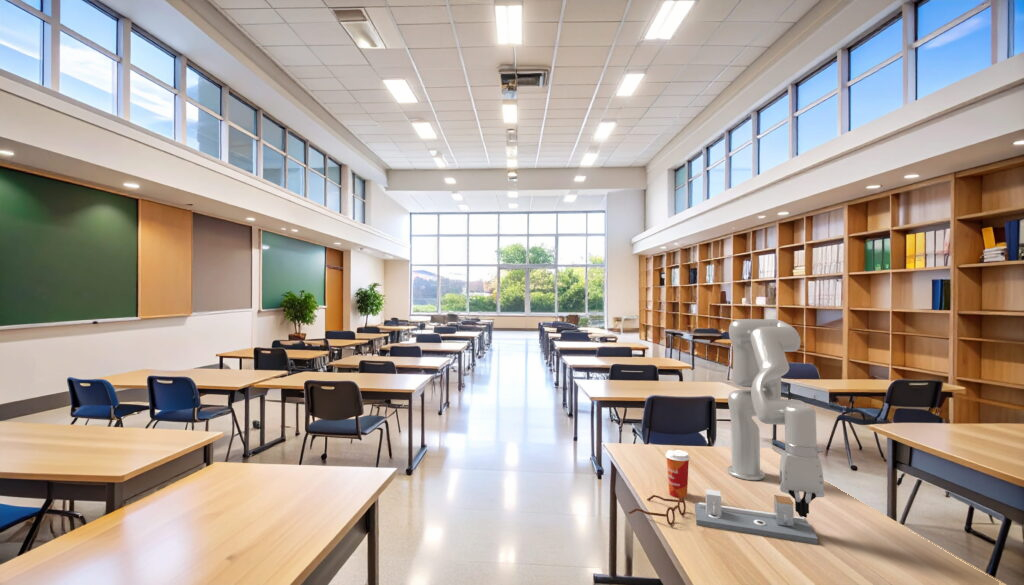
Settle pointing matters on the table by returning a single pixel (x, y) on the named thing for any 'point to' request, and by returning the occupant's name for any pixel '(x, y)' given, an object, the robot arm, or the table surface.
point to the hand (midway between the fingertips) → (802, 514)
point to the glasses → (667, 509)
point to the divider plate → (750, 520)
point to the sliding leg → (783, 510)
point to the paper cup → (677, 473)
